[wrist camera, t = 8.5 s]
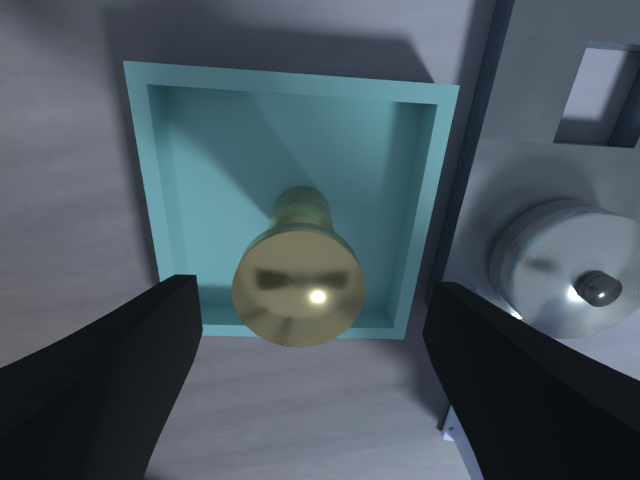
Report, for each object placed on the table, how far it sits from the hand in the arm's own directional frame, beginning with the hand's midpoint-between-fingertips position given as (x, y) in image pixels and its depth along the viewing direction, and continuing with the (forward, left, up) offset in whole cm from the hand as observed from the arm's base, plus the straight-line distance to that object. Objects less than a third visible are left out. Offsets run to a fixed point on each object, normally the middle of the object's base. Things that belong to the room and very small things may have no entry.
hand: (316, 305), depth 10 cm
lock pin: (0, +1, -9) cm, 9 cm away
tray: (0, +1, -9) cm, 9 cm away
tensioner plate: (+3, -14, -9) cm, 17 cm away
